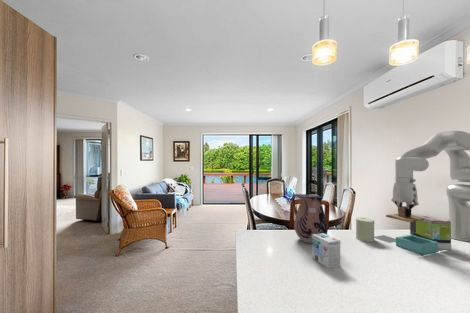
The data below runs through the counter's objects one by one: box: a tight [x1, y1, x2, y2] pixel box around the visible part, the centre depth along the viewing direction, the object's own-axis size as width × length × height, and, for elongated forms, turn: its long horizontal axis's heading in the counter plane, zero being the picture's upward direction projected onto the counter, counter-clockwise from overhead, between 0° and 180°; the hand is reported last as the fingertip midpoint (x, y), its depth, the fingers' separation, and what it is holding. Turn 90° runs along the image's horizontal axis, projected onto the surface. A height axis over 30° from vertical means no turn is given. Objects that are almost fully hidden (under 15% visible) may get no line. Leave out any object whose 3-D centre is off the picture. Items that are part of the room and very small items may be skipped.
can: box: [355, 217, 375, 243], centre depth 126 cm, size 9×9×12 cm
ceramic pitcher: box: [290, 193, 329, 244], centre depth 125 cm, size 18×21×25 cm
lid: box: [385, 205, 424, 223], centre depth 118 cm, size 12×12×6 cm
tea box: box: [409, 213, 452, 251], centre depth 120 cm, size 15×10×15 cm
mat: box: [374, 234, 396, 244], centre depth 127 cm, size 10×10×1 cm
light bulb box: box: [311, 233, 341, 269], centre depth 98 cm, size 11×7×11 cm, turn 19°
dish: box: [395, 234, 439, 257], centre depth 113 cm, size 12×12×5 cm
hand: (404, 215), depth 118 cm, fingers closed on lid, 3 cm apart
